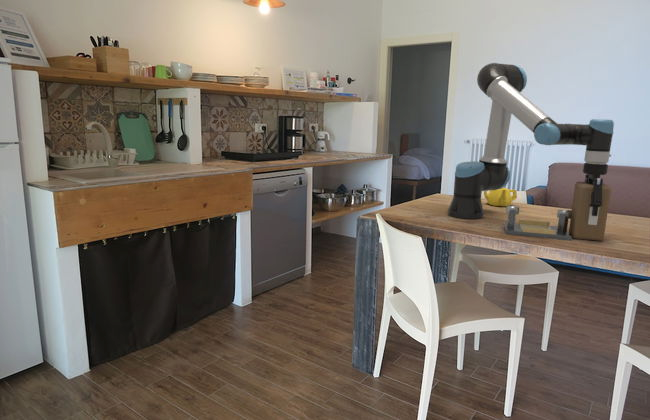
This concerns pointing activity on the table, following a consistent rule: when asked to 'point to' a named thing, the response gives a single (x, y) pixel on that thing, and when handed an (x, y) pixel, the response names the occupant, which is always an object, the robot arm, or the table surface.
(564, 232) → the grey metal fixture stand
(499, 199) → the yellow rounded piece
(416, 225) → the table surface
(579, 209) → the wooden block
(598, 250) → the table surface
